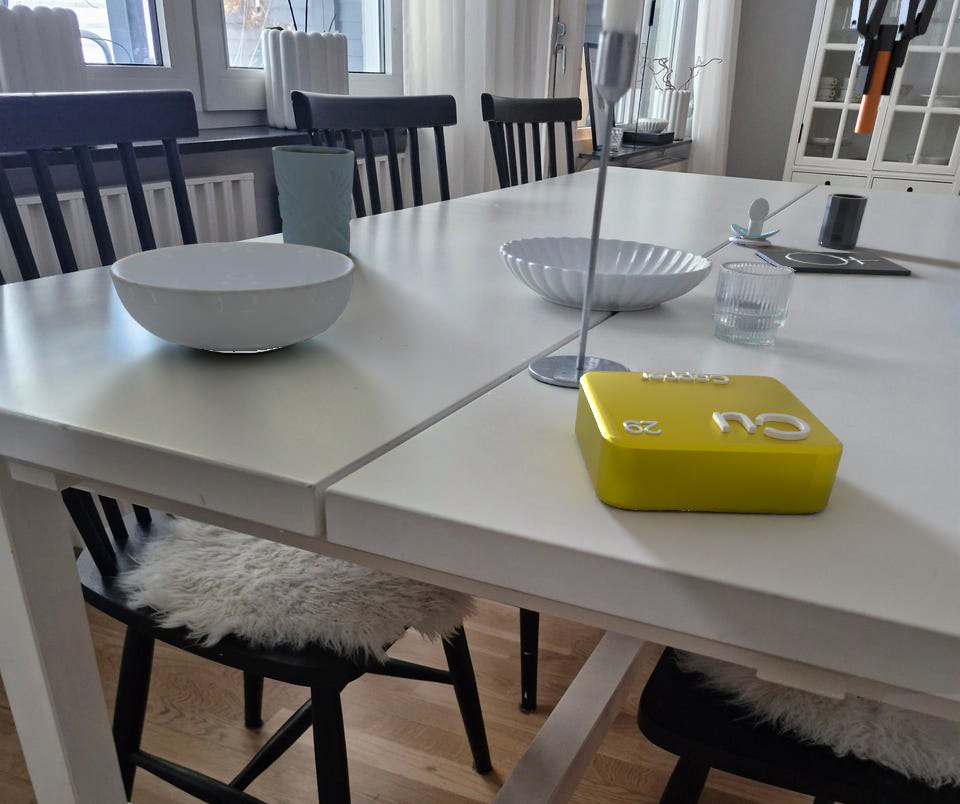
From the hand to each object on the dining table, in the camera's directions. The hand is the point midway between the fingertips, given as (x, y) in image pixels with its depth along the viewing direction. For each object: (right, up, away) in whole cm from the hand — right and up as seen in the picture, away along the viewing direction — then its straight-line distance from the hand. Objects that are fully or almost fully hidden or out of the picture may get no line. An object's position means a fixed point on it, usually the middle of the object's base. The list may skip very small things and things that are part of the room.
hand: (872, 94), depth 127 cm
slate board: (-7, -25, -2) cm, 26 cm away
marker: (0, -4, +3) cm, 5 cm away
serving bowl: (-78, -50, -45) cm, 103 cm away
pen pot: (-1, -17, +11) cm, 20 cm away
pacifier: (-14, -17, +10) cm, 25 cm away
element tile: (-41, -66, -66) cm, 102 cm away
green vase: (-77, -27, -9) cm, 82 cm away
